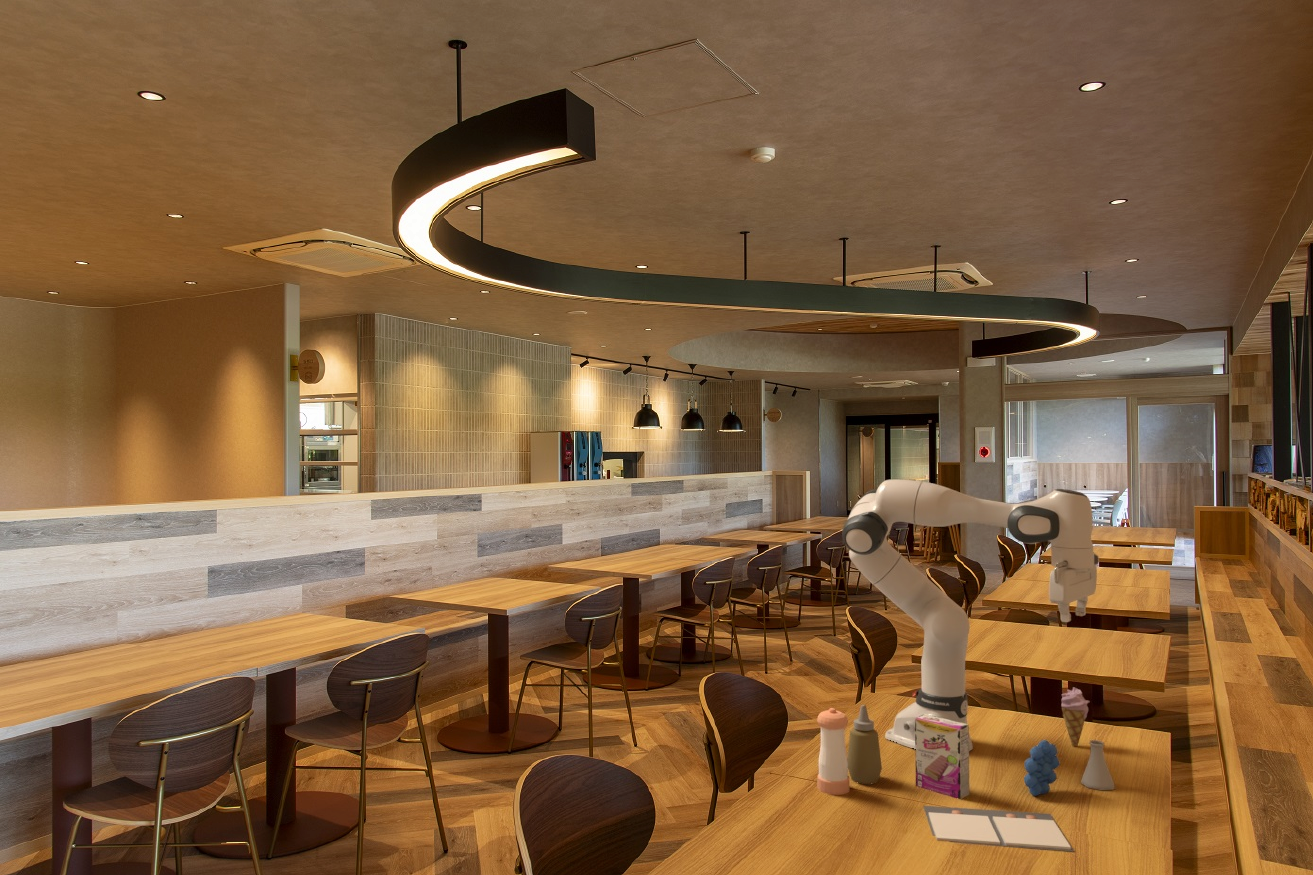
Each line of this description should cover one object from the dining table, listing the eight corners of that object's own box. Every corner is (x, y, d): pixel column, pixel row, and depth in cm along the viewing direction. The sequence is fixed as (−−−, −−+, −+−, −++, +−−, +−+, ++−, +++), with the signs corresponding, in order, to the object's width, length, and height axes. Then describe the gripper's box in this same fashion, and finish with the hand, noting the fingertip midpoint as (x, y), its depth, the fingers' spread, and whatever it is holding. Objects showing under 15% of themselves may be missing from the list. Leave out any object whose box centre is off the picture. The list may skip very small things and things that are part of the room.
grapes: (1040, 782, 199) (1039, 731, 199) (1067, 791, 193) (1066, 739, 194) (1009, 793, 193) (1008, 740, 193) (1036, 803, 187) (1036, 749, 187)
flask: (1119, 792, 193) (1118, 748, 193) (1085, 790, 194) (1084, 746, 194) (1109, 780, 200) (1108, 737, 200) (1076, 778, 201) (1075, 736, 201)
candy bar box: (914, 788, 196) (913, 717, 196) (925, 782, 200) (923, 712, 200) (960, 802, 188) (959, 728, 188) (970, 795, 192) (969, 723, 192)
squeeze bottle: (883, 777, 203) (882, 702, 203) (880, 790, 195) (879, 712, 195) (849, 773, 205) (848, 699, 206) (845, 786, 198) (844, 709, 198)
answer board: (934, 845, 168) (934, 838, 168) (923, 809, 185) (923, 803, 185) (1074, 855, 163) (1074, 848, 163) (1050, 817, 180) (1050, 811, 180)
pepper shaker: (852, 788, 196) (851, 705, 197) (845, 800, 190) (844, 714, 190) (821, 783, 199) (820, 702, 200) (814, 795, 193) (812, 710, 193)
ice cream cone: (1091, 744, 224) (1090, 687, 224) (1089, 751, 219) (1088, 693, 219) (1063, 739, 227) (1062, 684, 228) (1060, 746, 222) (1059, 689, 222)
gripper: (1070, 564, 187) (1071, 627, 187) (1101, 556, 201) (1102, 614, 201) (1040, 562, 191) (1041, 623, 191) (1073, 553, 206) (1074, 610, 206)
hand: (1073, 618), depth 196 cm, fingers open, 8 cm apart
